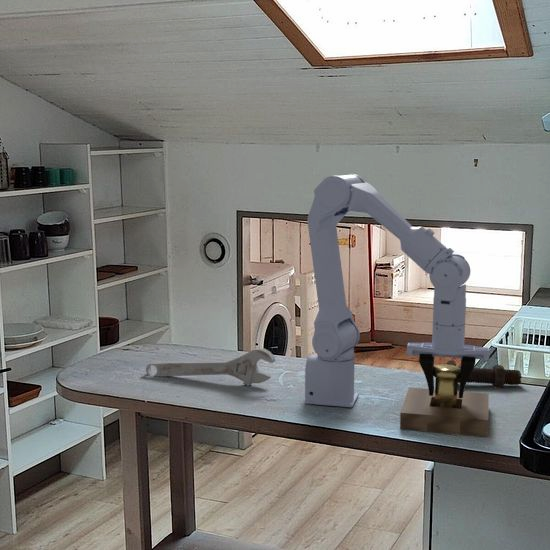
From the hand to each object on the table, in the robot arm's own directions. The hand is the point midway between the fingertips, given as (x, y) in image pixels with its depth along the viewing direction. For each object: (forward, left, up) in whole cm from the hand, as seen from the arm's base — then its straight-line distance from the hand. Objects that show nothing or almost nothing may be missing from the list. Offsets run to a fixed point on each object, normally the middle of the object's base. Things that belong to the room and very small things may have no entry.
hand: (446, 395), depth 145 cm
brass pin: (0, +1, -3) cm, 3 cm away
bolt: (+7, +22, -5) cm, 24 cm away
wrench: (-50, +11, -5) cm, 51 cm away
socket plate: (0, 0, -4) cm, 4 cm away
